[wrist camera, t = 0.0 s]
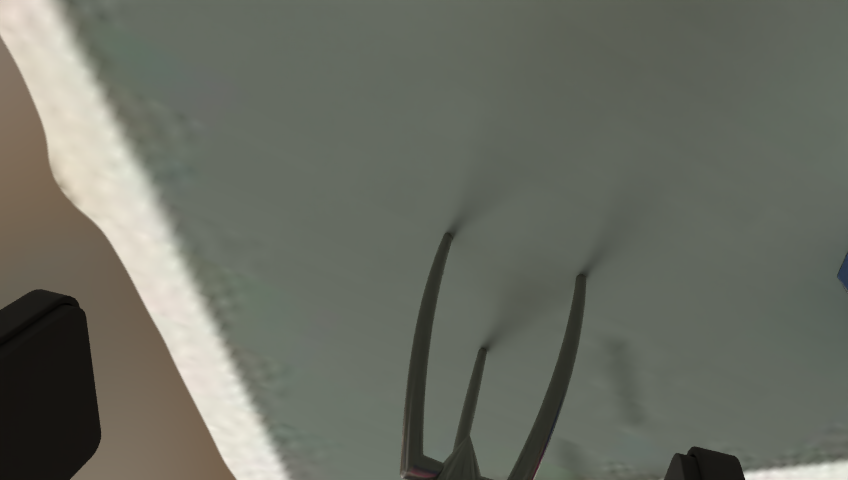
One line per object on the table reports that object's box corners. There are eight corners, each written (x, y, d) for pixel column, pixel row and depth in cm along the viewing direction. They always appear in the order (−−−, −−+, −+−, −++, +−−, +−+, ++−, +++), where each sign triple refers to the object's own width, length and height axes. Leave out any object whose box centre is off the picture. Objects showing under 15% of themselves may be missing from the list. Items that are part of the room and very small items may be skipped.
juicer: (588, 277, 48) (597, 687, 21) (482, 356, 53) (381, 770, 26) (497, 186, 46) (383, 500, 20) (397, 275, 51) (198, 624, 25)
